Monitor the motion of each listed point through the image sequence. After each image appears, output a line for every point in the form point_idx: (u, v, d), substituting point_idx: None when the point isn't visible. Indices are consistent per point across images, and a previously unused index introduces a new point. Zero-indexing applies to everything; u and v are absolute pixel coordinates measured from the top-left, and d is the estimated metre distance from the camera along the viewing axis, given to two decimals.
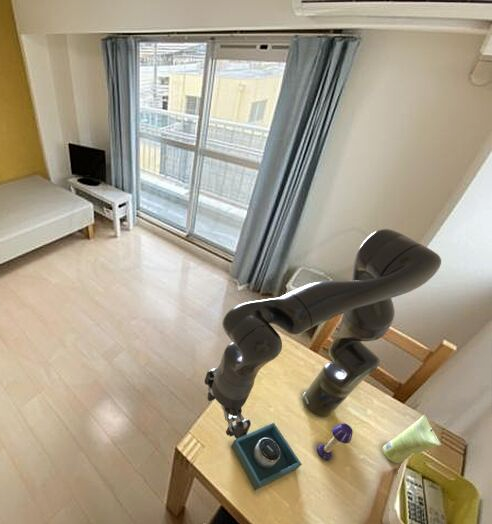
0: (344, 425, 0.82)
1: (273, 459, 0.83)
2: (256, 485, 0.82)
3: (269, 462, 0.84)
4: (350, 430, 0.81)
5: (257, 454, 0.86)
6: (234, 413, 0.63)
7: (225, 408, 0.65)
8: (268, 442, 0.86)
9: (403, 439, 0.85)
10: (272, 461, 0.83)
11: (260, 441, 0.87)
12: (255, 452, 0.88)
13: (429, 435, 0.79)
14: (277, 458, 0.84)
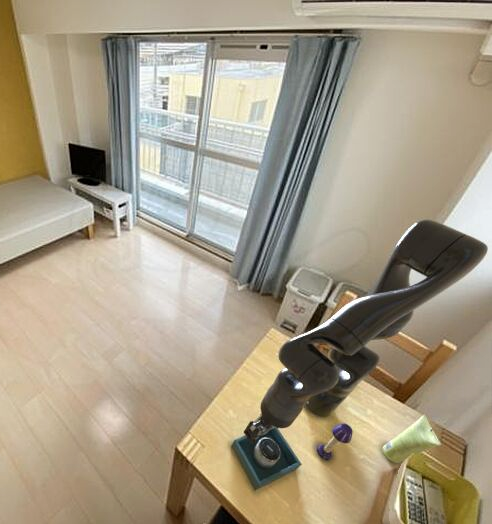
0: (344, 425, 0.82)
1: (273, 459, 0.83)
2: (256, 485, 0.82)
3: (269, 462, 0.84)
4: (350, 430, 0.81)
5: (257, 454, 0.86)
6: (259, 418, 0.71)
7: (262, 414, 0.73)
8: (268, 442, 0.86)
9: (403, 439, 0.85)
10: (272, 461, 0.83)
11: (260, 441, 0.87)
12: (255, 452, 0.88)
13: (429, 435, 0.79)
14: (277, 458, 0.84)
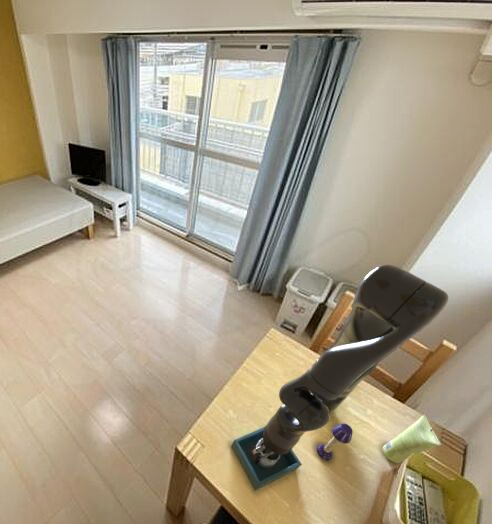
0: (344, 425, 0.82)
1: (273, 459, 0.83)
2: (256, 485, 0.82)
3: (269, 462, 0.84)
4: (350, 430, 0.81)
5: None
6: (261, 443, 0.81)
7: None
8: None
9: (403, 439, 0.85)
10: (272, 461, 0.83)
11: (260, 441, 0.87)
12: None
13: (429, 435, 0.79)
14: (277, 458, 0.84)
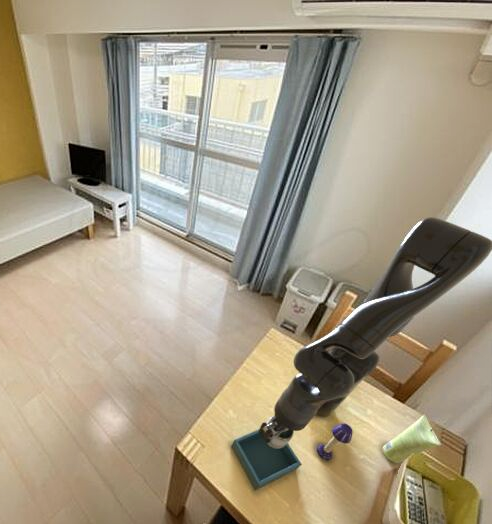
0: (344, 425, 0.82)
1: (286, 437, 0.75)
2: (256, 485, 0.82)
3: (281, 441, 0.76)
4: (350, 430, 0.81)
5: None
6: (273, 419, 0.73)
7: None
8: None
9: (403, 439, 0.85)
10: (285, 440, 0.75)
11: (271, 419, 0.79)
12: None
13: (429, 435, 0.79)
14: (290, 436, 0.76)
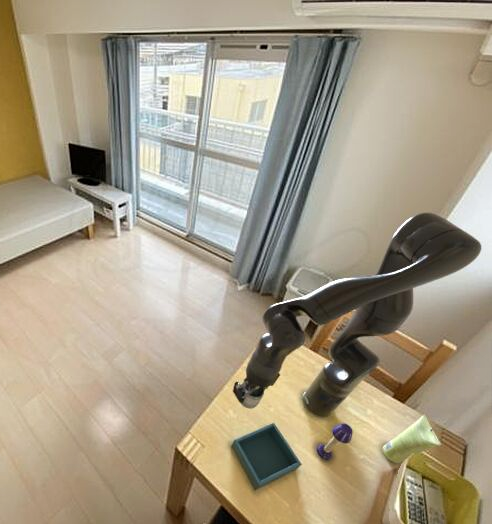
0: (344, 425, 0.82)
1: (257, 396, 0.84)
2: (256, 485, 0.82)
3: (252, 400, 0.85)
4: (350, 430, 0.81)
5: None
6: (244, 379, 0.82)
7: None
8: None
9: (403, 439, 0.85)
10: (256, 398, 0.84)
11: None
12: None
13: (429, 435, 0.79)
14: (261, 395, 0.84)
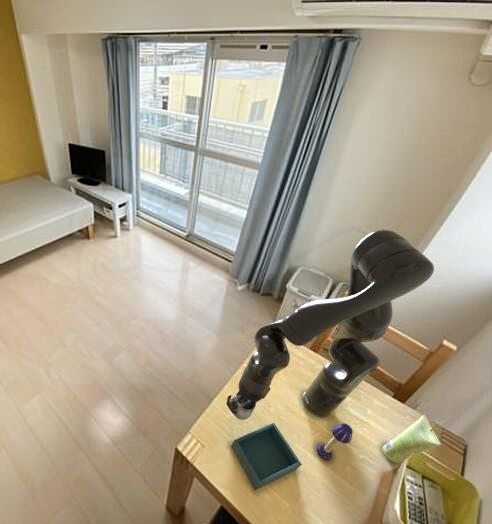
0: (344, 425, 0.82)
1: (249, 409, 0.90)
2: (256, 485, 0.82)
3: (245, 412, 0.91)
4: (350, 430, 0.81)
5: None
6: (237, 393, 0.88)
7: None
8: None
9: (403, 439, 0.85)
10: (248, 410, 0.90)
11: None
12: None
13: (429, 435, 0.79)
14: (252, 408, 0.90)
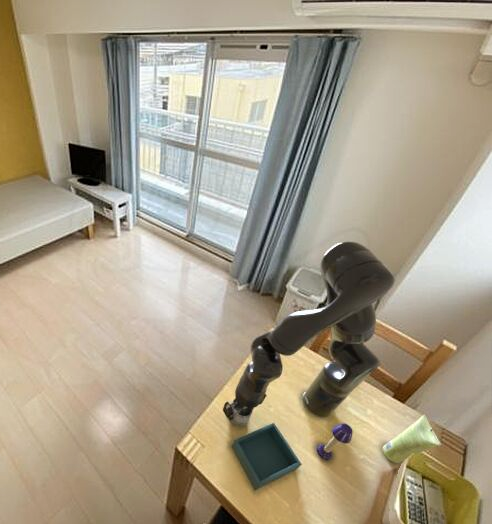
0: (344, 425, 0.82)
1: (245, 415, 0.93)
2: (256, 485, 0.82)
3: (241, 418, 0.93)
4: (350, 430, 0.81)
5: None
6: (234, 400, 0.91)
7: None
8: None
9: (403, 439, 0.85)
10: (244, 417, 0.93)
11: None
12: None
13: (429, 435, 0.79)
14: (249, 414, 0.93)
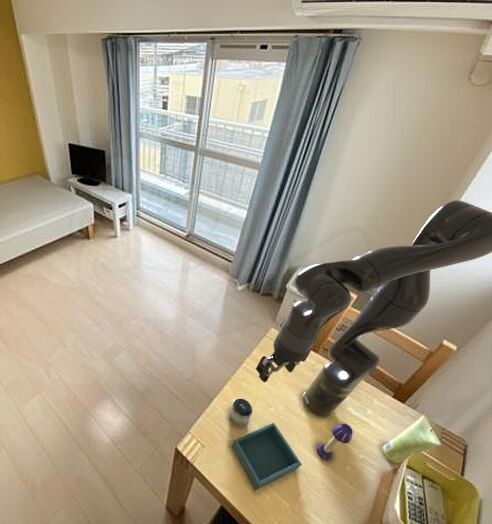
0: (344, 425, 0.82)
1: (245, 415, 0.93)
2: (256, 485, 0.82)
3: (241, 418, 0.93)
4: (350, 430, 0.81)
5: (231, 412, 0.96)
6: (272, 354, 0.74)
7: None
8: (241, 401, 0.96)
9: (403, 439, 0.85)
10: (244, 417, 0.93)
11: (234, 401, 0.96)
12: (230, 411, 0.97)
13: (429, 435, 0.79)
14: (249, 414, 0.93)
